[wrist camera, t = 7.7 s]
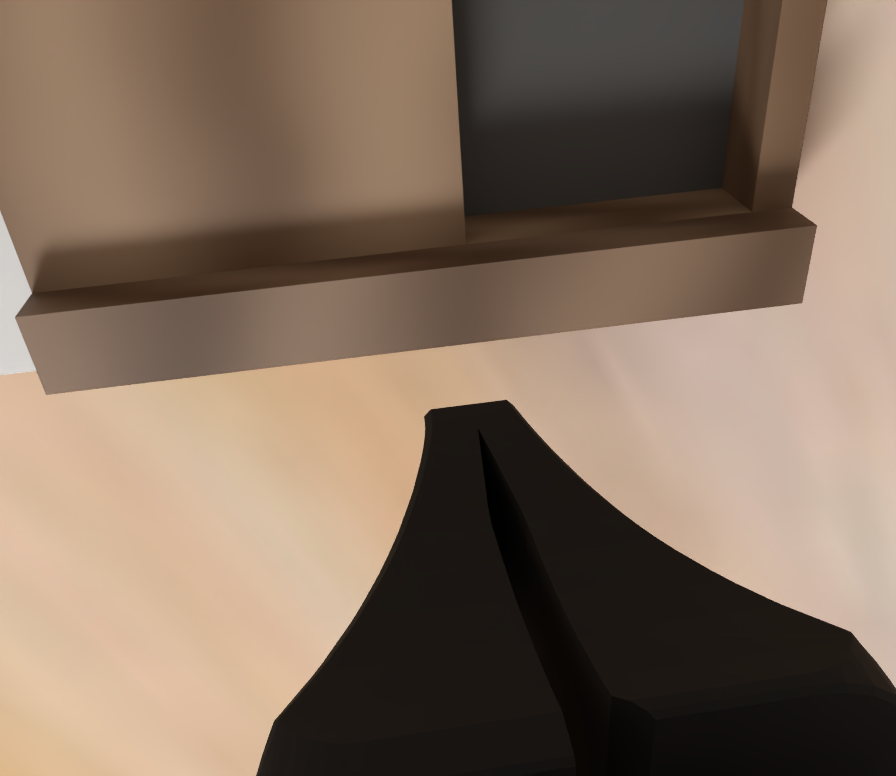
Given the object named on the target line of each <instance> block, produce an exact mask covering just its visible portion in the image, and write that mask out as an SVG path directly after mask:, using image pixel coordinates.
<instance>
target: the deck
mask: <svg viewBox="0 0 896 776" xmlns="http://www.w3.org/2000/svg"><path fill="white" fill-rule="evenodd" d="M826 5H827V0H0V375H6V374H15V373H23V372H31V371H37V373H38V376H39V378H40V381H41V383H42V386H43V388H44V391H45V393H46V395H49V394H57V393H65V392H73V391H82V390H90V389H98V388H106V387H115V386H123V385H131V384H139V383H148V382H156V381H164V380H172V379H181V378H189V377H197V376H205V375H214V374H222V373H230V372H238V371H247V370H255V369H263V368H271V367H280V366H288V365H296V364H304V363H313V362H321V361H329V360H337V359H346V358H354V357H362V356H370V355H379V354H387V353H395V352H403V351H412V350H420V349H428V348H436V347H444V346H453V345H461V344H469V343H477V342H486V341H494V340H502V339H510V338H519V337H527V336H535V335H543V334H552V333H560V332H568V331H576V330H585V329H593V328H601V327H609V326H618V325H626V324H634V323H642V322H651V321H659V320H667V319H675V318H684V317H692V316H700V315H708V314H717V313H725V312H733V311H741V310H750V309H758V308H766V307H774V306H783V305H791V304H799V303H802V301H803V296H804V290H805V285H806V280H807V275H808V269H809V264H810V259H811V254H812V248H813V243H814V238H815V233H816V228H817V225H816V224H814V223H813V222H811V221H810V220H809V219H807V218H806V217H804V216H803V215H802V214H800V213H799V212H797V211H796V210H795V209H793V208H792V203H793V198H794V192H795V186H796V180H797V174H798V168H799V163H800V157H801V151H802V145H803V139H804V133H805V127H806V122H807V116H808V110H809V104H810V98H811V92H812V87H813V81H814V75H815V69H816V63H817V57H818V51H819V46H820V40H821V34H822V28H823V22H824V16H825V11H826Z"/></svg>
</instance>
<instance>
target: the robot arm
mask: <svg viewBox="0 0 896 776" xmlns="http://www.w3.org/2000/svg"><path fill="white" fill-rule="evenodd" d="M424 418H425V440H424V447H423V453H422V458H421V463H420V467H419V471H418V474H417V478H416V482H415V486H414V490H413V493H412V496H411V499H410V502H409V505H408V507H407V510H406V513H405V516H404V518H403V521H402V524H401V527H400V529H399V532H398V534H397V537H396V539H395V541H394V544H393V546H392V548H391V550H390V553H389V555H388V557H387V559H386V561H385V563H384V565H383V567H382V569H381V571H380V573H379V575H378V577H377V579H376V581H375V583H374V584H373V586H372V588H371V590H370V591H369V593H368V595H367V597H366V599H365V600H364V602H363V604H362V606H361V607H360V609H359V611H358V612H357V614H356V616H355V617H354V619H353V620H352V622H351V623H350V625H349V626H348V628H347V629H346V631H345V632H344V633H343V635H342V636H341V638H340V639H339V641H338V642H337V643H336V645H335V646H334V648H333V649H332V651H331V652H330V653H329V655H328V656H327V658H326V659H325V660H324V662H323V663H322V665H321V666H320V667H319V668H318V670H317V671H316V672H315V674H314V675H313V676H312V677H311V679H310V680H309V681H308V682H307V683H306V684H305V686H304V687H303V688H302V689H301V690H300V691H299V693H298V694H297V695H296V696H295V697H294V699H293V700H292V701H291V702H290V703H289V704H288V706H287V707H286V708H285V709H284V710H283V712H282V713H281V714H280V715H279V716H278V717H277V718H276V720H275V721H274V723H273V726H272V729H271V731H270V734H269V737H268V740H267V743H266V746H265V749H264V752H263V755H262V758H261V762H260V765H259V768H258V772H257V775H256V776H896V688H895V687H894V685H893V684H892V682H891V681H890V679H889V678H888V677H887V675H886V674H885V673H884V671H883V670H882V669H881V667H880V666H879V665H878V664H877V662H876V661H875V660H874V659H873V657H872V656H871V655H870V654H869V653H868V652H867V651H866V649H865V648H864V647H863V646H862V645H861V644H860V643H859V641H858V640H857V639H856V638H855V636H854V635H853V634H852V633H851V632H850V631H847V630H845V629H842V628H840V627H837V626H835V625H832V624H829V623H827V622H824V621H822V620H819V619H817V618H814V617H812V616H809V615H807V614H804V613H801V612H799V611H796V610H794V609H791V608H789V607H786V606H784V605H781V604H779V603H777V602H774V601H772V600H770V599H768V598H766V597H764V596H761V595H759V594H757V593H755V592H753V591H751V590H749V589H747V588H745V587H742V586H740V585H738V584H736V583H734V582H732V581H730V580H728V579H726V578H724V577H723V576H721V575H719V574H717V573H715V572H713V571H711V570H709V569H708V568H706V567H704V566H702V565H701V564H699V563H697V562H695V561H694V560H692V559H690V558H689V557H687V556H685V555H683V554H682V553H680V552H678V551H676V550H675V549H673V548H672V547H670V546H668V545H667V544H665V543H664V542H662V541H661V540H659V539H657V538H656V537H654V536H653V535H652V534H650V533H649V532H647V531H646V530H644V529H643V528H642V527H640V526H639V525H637V524H636V523H635V522H633V521H632V520H631V519H629V518H628V517H627V516H625V515H624V514H623V513H622V512H620V511H619V510H618V509H617V508H615V507H614V506H613V505H612V504H610V503H609V502H608V501H607V500H606V499H604V498H603V497H602V496H601V495H600V494H599V493H597V492H596V491H595V490H594V489H593V488H592V487H590V486H589V485H588V484H587V483H586V482H585V481H584V480H583V479H582V478H581V477H579V476H578V475H577V474H576V473H575V472H574V471H573V470H572V469H571V468H570V467H569V466H568V465H567V464H566V463H565V462H564V461H563V460H562V459H561V458H560V457H559V456H558V455H557V454H556V453H555V452H554V451H553V450H552V449H551V448H550V447H549V446H548V445H547V444H546V443H545V442H544V440H543V439H542V438H541V437H540V436H539V435H538V434H537V433H536V432H535V431H534V429H533V428H532V427H531V426H530V425H529V424H528V423H527V421H526V420H525V419H524V418H523V417H522V415H521V414H520V413H519V412H518V411H517V409H516V408H515V407H514V406H513V405H512V404H511V403H510V402H508V401H507V400H502V401H494V402H486V403H478V404H470V405H462V406H454V407H446V408H439V409H431V410H430V411H429V412H428V413H427V414H426V415H425V416H424Z"/></svg>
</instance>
